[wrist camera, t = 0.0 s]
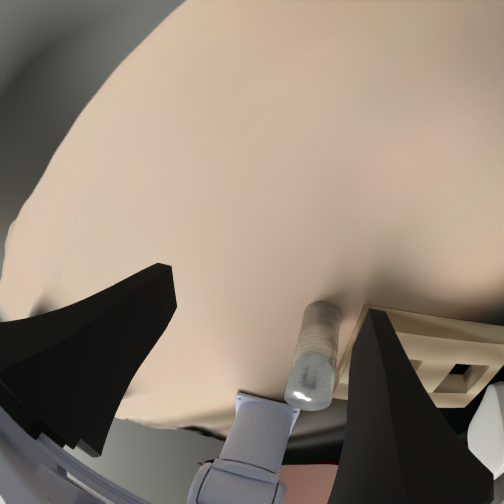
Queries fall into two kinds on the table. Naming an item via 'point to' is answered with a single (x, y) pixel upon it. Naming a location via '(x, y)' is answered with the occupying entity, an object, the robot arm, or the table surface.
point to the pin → (314, 359)
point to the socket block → (438, 354)
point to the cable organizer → (489, 430)
